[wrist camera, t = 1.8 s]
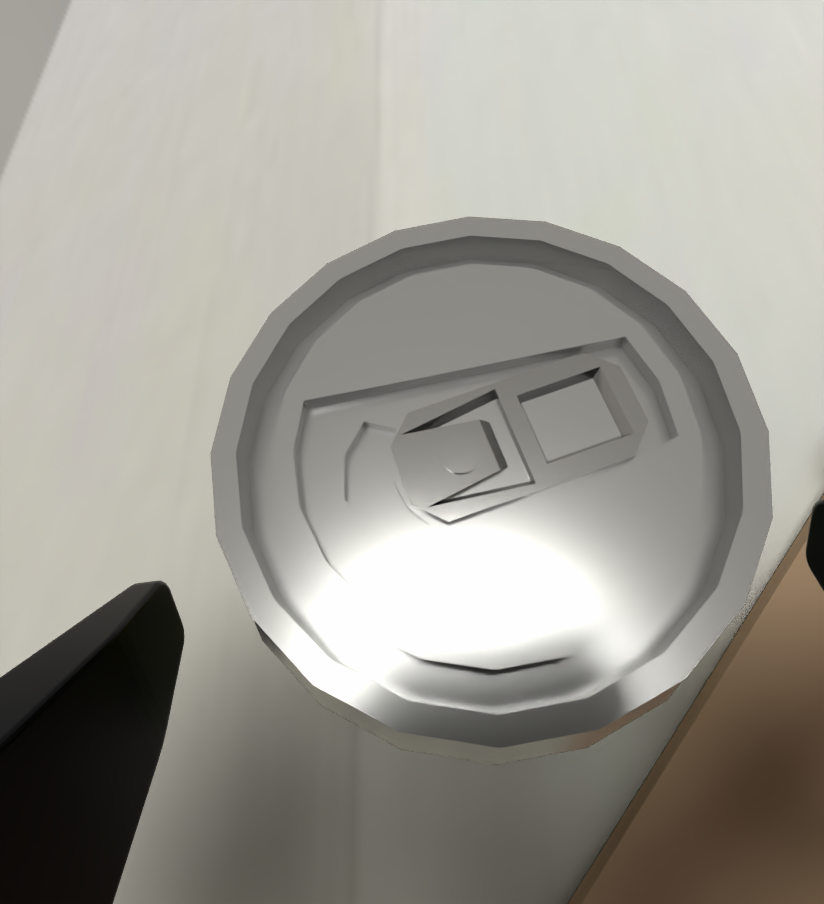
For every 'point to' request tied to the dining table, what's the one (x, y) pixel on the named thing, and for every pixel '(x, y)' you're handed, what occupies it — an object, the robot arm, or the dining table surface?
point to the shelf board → (736, 772)
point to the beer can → (491, 487)
